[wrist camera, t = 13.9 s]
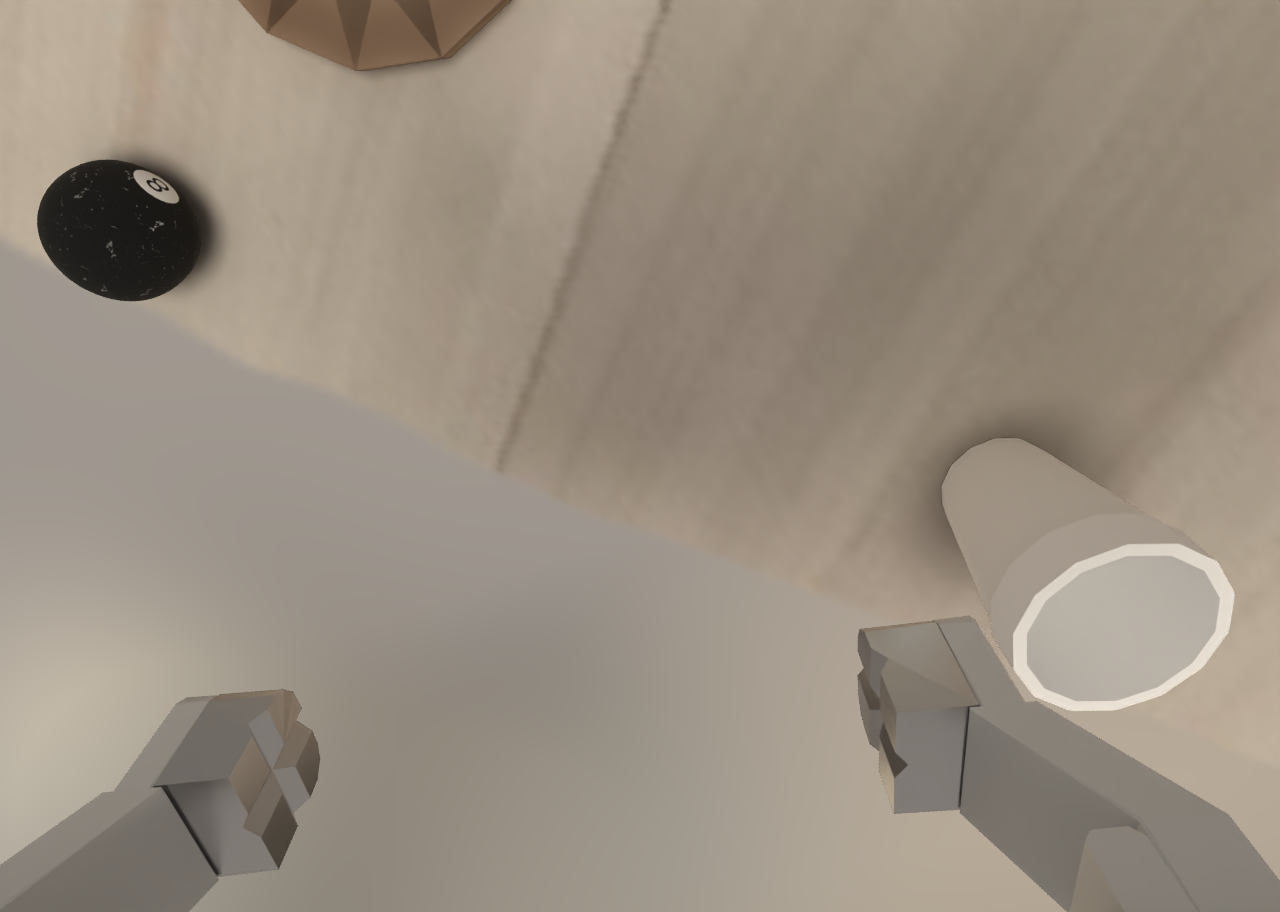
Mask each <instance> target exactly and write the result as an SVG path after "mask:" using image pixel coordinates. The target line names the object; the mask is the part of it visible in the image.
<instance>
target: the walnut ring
mask: <svg viewBox="0 0 1280 912" xmlns="http://www.w3.org/2000/svg"><path fill="white" fill-rule="evenodd" d="M510 1H511V0H239V2H240V3H241V4H242V5H243V6H244V7H245V8H246V10H247V11H248V12H249V13H250V14H251V15H252V16H253V18H254V19H255V20H256V21H257V22H258V23H259V24H260V26H261V27H262V28H263V29H264V30H265V31H266V33H269V34H271V35H273V36H276V37H278V38H280V39H283V40H285V41H287V42H290V43H292V44H294V45H297V46H299V47H301V48H304V49H306V50H308V51H311V52H313V53H315V54H318V55H320V56H322V57H325V58H327V59H329V60H332V61H334V62H336V63H339V64H341V65H343V66H346V67H348V68H350V69H353V70H355V71H364V70H372V69H379V68H385V67H392V66H398V65H405V64H412V63H418V62H425V61H431V60H438V59H444V58H451V57H452V56H453V55H454V54H455V53H456V52H457V51H458V50H459V49H460V48H461V47H462V46H463V45H465V44H466V43H467V42H468V41H469V40H470V39H471V38H472V37H473V36H474V35H475V34H476V33H477V32H478V31H479V30H480V29H481V28H482V27H484V26H485V25H486V24H487V23H488V22H489V21H490V20H491V19H492V18H493V17H494V16H495V15H496V14H497V13H498V12H499V11H500V10H501V9H503V8H504V7H505V6H506V5H507V4H508V3H509V2H510Z"/></svg>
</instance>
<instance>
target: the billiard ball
mask: <svg viewBox="0 0 1280 912" xmlns="http://www.w3.org/2000/svg"><path fill="white" fill-rule="evenodd" d="M37 226H38V233H39V237H40V240H41V243H42V245H43V248H44V249H45V251H46V253H47V255H48V256H49V258H50V259H51V261H52V262H53V263H54V265H55V266H56V267H57V268H58V269H59V270H60V271H61V272H62V273H63V274H64V275H65V276H66V277H68V278H69V279H70V280H71V281H73V282H74V283H76V284H77V285H79V286H80V287H82V288H84V289H86V290H88V291H90V292H93V293H95V294H97V295H100V296H103V297H106V298H110V299H114V300H120V301H142V300H147V299H151V298H155V297H158V296H160V295H162V294H165V293H166V292H168V291H170V290H172V289H173V288H174V287H176V286H177V285H178V284H179V283H181V282H182V281H183V280H184V279H185V278H186V277H187V275H188V274H189V273H190V271H191V270H192V268H193V267H194V265H195V263H196V260H197V258H198V255H199V251H200V245H201V235H200V228H199V224H198V221H197V218H196V216H195V214H194V212H193V210H192V208H191V206H190V205H189V203H188V202H187V201H186V199H185V198H184V197H183V196H182V195H181V194H180V192H179V191H178V190H177V189H176V188H175V187H173V186H172V185H171V184H170V183H169V182H167V181H166V180H165V179H163V178H162V177H160V176H158V175H157V174H155V173H153V172H151V171H149V170H147V169H145V168H143V167H140V166H138V165H135V164H131V163H128V162H123V161H117V160H96V161H90V162H87V163H84V164H80V165H78V166H76V167H74V168H72V169H70V170H68V171H67V172H65V173H64V174H62V175H61V176H60V177H58V178H57V179H56V180H55V181H54V182H53V183H52V184H51V185H50V187H49V188H48V189H47V191H46V193H45V194H44V196H43V198H42V200H41V203H40V206H39V210H38V216H37Z"/></svg>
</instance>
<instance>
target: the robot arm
mask: <svg viewBox="0 0 1280 912" xmlns="http://www.w3.org/2000/svg"><path fill="white" fill-rule="evenodd" d="M858 653H859V656H860V659H861V661H862V665H863V667H864V668H863V670H862V671H861V672H860V673H859V675H858V696H859V703H860V710H861V716H862V720H863V724H864V728H865V731H866V734H867V737H868V740H869V743H870V745H872V746H873V747H874V748H876V749H877V750H878V751H879V773H880V776H881V779H882V782H883V785H884V787H885V790H886V793H887V796H888V799H889V802H890V805H891V808H892V810H893V813H894V814H897V813H898V814H899V813H914V812H930V811H946V810H960V813H961V814H962V815H963V816H964V817H965V818H966V819H967V820H968V821H969V822H970V823H971V824H972V825H974V826H975V827H976V828H977V829H978V830H979V831H980V832H981V833H982V834H983V835H984V836H985V837H987V838H988V839H989V840H990V841H991V842H992V843H993V844H994V845H995V846H996V847H997V848H999V849H1000V850H1001V851H1002V852H1003V853H1004V854H1005V855H1006V856H1007V857H1008V858H1009V859H1010V860H1012V861H1013V862H1014V863H1015V864H1016V865H1017V866H1018V867H1019V868H1020V869H1021V870H1022V871H1023V872H1025V873H1026V874H1027V875H1028V876H1029V877H1030V878H1031V879H1032V880H1033V881H1034V882H1035V883H1036V884H1038V885H1039V886H1040V887H1041V888H1042V889H1043V890H1044V891H1045V892H1046V893H1047V894H1048V895H1049V896H1051V897H1052V898H1053V899H1054V900H1055V901H1056V902H1057V903H1058V904H1059V905H1060V906H1061V907H1062V908H1063V909H1065V910H1066V911H1067V912H1280V880H1279V879H1278V878H1277V876H1276V875H1275V874H1274V873H1273V871H1272V870H1271V869H1270V867H1269V866H1268V865H1267V864H1266V862H1265V861H1264V860H1263V858H1262V857H1261V856H1260V855H1259V853H1258V852H1257V851H1256V849H1255V848H1254V847H1253V846H1252V844H1251V843H1250V842H1249V840H1248V839H1247V838H1246V836H1245V835H1244V834H1243V832H1242V831H1241V830H1240V829H1239V827H1238V826H1237V825H1236V824H1235V822H1234V821H1233V820H1232V818H1231V817H1230V816H1229V815H1228V814H1227V813H1225V812H1223V811H1221V810H1220V809H1218V808H1216V807H1215V806H1213V805H1211V804H1210V803H1208V802H1206V801H1205V800H1203V799H1201V798H1200V797H1198V796H1196V795H1194V794H1193V793H1191V792H1189V791H1188V790H1186V789H1184V788H1182V787H1181V786H1179V785H1177V784H1176V783H1174V782H1172V781H1171V780H1169V779H1167V778H1166V777H1164V776H1162V775H1161V774H1159V773H1157V772H1155V771H1154V770H1152V769H1150V768H1149V767H1147V766H1145V765H1144V764H1142V763H1140V762H1139V761H1137V760H1135V759H1134V758H1132V757H1130V756H1129V755H1127V754H1125V753H1123V752H1122V751H1120V750H1118V749H1116V748H1115V747H1113V746H1111V745H1110V744H1108V743H1107V742H1105V741H1103V740H1102V739H1100V738H1098V737H1096V736H1095V735H1093V734H1091V733H1090V732H1088V731H1086V730H1085V729H1083V728H1081V727H1080V726H1078V725H1076V724H1074V723H1073V722H1071V721H1069V720H1068V719H1066V718H1064V717H1063V716H1061V715H1059V714H1058V713H1056V712H1054V711H1053V710H1051V709H1049V708H1047V707H1046V706H1044V705H1042V704H1040V703H1039V702H1037V701H1034V702H1025V701H1024V699H1023V697H1022V696H1021V694H1020V693H1019V691H1018V689H1017V688H1016V686H1015V684H1014V683H1013V681H1012V679H1011V678H1010V676H1009V674H1008V673H1007V671H1006V669H1005V668H1004V666H1003V665H1002V663H1001V661H1000V660H999V658H998V656H997V655H996V653H995V651H994V650H993V648H992V646H991V645H990V643H989V642H988V640H987V638H986V637H985V635H984V633H983V632H982V630H981V628H980V627H979V625H978V623H977V622H976V620H975V619H973V618H972V617H970V616H963V617H955V618H947V619H939V620H933V621H932V622H931V621H926V622H917V623H909V624H900V625H891V626H883V627H873V628H864V629H860V630H859V634H858ZM301 709H302V707H301V705H300V704H299V702H298V700H297V698H296V696H295V694H294V692H293V691H289V690H285V689H281V690H268V691H255V692H244V693H230V694H220V695H217V696H202V697H188V698H185V699H184V700H182V701H180V702H179V703H177V704H176V705H175V706H174V707H173V709H172V710H171V711H170V713H169V714H168V716H167V717H166V719H165V720H164V721H163V723H162V724H161V726H160V727H159V728H158V730H157V731H156V733H155V734H154V736H153V737H152V738H151V740H150V741H149V743H148V744H147V745H146V747H145V748H144V749H143V751H142V753H141V754H140V755H139V757H138V758H137V759H136V761H135V762H134V764H133V765H132V766H131V768H130V769H129V771H128V772H127V773H126V775H125V776H124V778H123V779H122V780H121V782H120V783H119V785H118V786H117V787H116V789H115V790H114V792H105V793H102V794H100V795H99V796H98V797H96V798H95V799H93V800H92V801H90V802H89V803H87V804H86V805H85V806H83V807H82V808H80V809H79V810H77V811H76V812H75V813H73V814H72V815H70V816H69V817H68V818H66V819H65V820H63V821H62V822H60V823H59V824H58V825H56V826H55V827H53V828H52V829H51V830H49V831H48V832H46V833H45V834H44V835H42V836H41V837H39V838H38V839H36V840H35V841H34V842H32V843H31V844H29V845H28V846H26V847H25V848H24V849H22V850H21V851H19V852H18V853H16V854H15V855H14V856H12V857H11V858H9V859H8V860H7V861H5V862H4V863H2V864H1V865H0V912H189V911H190V910H191V909H192V908H193V907H194V906H195V905H196V903H198V901H199V900H200V899H201V898H202V897H203V896H204V895H205V894H206V893H207V892H208V891H209V890H210V889H211V888H212V887H213V886H214V885H215V884H216V883H217V881H218V877H221V876H230V875H238V874H246V873H255V872H263V871H271V870H278V869H279V868H280V865H281V863H282V861H283V859H284V856H285V854H286V852H287V850H288V847H289V845H290V843H291V840H292V838H293V836H294V834H295V831H296V829H297V827H298V825H297V822H296V819H295V816H294V812H295V811H296V810H297V809H298V808H299V807H300V806H302V805H303V804H304V803H305V802H306V801H307V800H308V799H309V798H310V797H311V795H312V792H313V789H314V787H315V785H316V782H317V780H318V772H319V764H320V755H319V748H318V743H317V741H316V738H315V736H314V733H313V731H312V730H311V729H309V728H308V727H306V726H305V725H303V724H302V723H300V722H299V721H297V718H298V716H299V714H300V712H301Z"/></svg>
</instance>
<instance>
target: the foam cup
mask: <svg viewBox="0 0 1280 912" xmlns="http://www.w3.org/2000/svg"><path fill="white" fill-rule="evenodd" d="M941 487H942V504H943V508H944V509H945V514H946V516H947V519H948V521H949V523H950V526H951V528H952V530H953V533H954V535H955V538H956V540H957V542H958V545H959V547H960V550H961V552H962V554H963V557H964V559H965V561H966V564H967V566H968V569H969V571H970V573H971V576H972V578H973V580H974V583H975V585H976V588H977V590H978V592H979V595H980V597H981V599H982V602H983V604H984V607H985V609H986V611H987V614H988V616H989V619H990V621H991V630H992V636H993V638H994V639H995V641H996V643H997V644H998V646H999V647H1000V649H1001V651H1002V652H1003V654H1004V655H1005V657H1006V658H1007V660H1008V662H1009V663H1010V665H1011V666H1012V668H1013V670H1014V671H1015V672H1016V673H1017V675H1018V676H1019V677H1020V679H1021V680H1022V681H1023V683H1024V684H1025V685H1026V687H1027V688H1028V689H1029V691H1030V692H1031V693H1032V694H1033V696H1034V697H1036V698H1039V699H1042V700H1044V701H1046V702H1049V703H1052V704H1054V705H1057V706H1059V707H1062V708H1064V709H1067V710H1070V711H1090V710H1091V711H1095V710H1097V711H1101V710H1118V709H1121V708H1124V707H1127V706H1130V705H1133V704H1137V703H1140V702H1143V701H1146V700H1149V699H1152V698H1155V697H1158V696H1161V695H1163V694H1165V693H1166V692H1168V691H1169V690H1171V689H1172V688H1173V687H1175V686H1176V685H1178V684H1179V683H1181V682H1182V681H1184V680H1185V679H1187V678H1188V677H1189V676H1191V675H1192V674H1194V673H1195V672H1197V671H1198V670H1200V669H1201V668H1203V666H1204V665H1205V664H1206V662H1207V661H1208V659H1209V658H1210V657H1211V655H1212V654H1213V653H1214V651H1215V650H1216V649H1217V647H1218V646H1219V644H1220V643H1221V642H1222V640H1223V639H1224V638H1225V636H1226V635H1227V633H1228V632H1229V629H1230V622H1231V616H1232V609H1233V603H1234V596H1235V593H1234V591H1233V589H1232V587H1231V585H1230V583H1229V582H1228V580H1227V578H1226V576H1225V574H1224V573H1223V571H1222V569H1221V567H1220V565H1219V564H1218V562H1217V561H1216V560H1215V559H1214V558H1213V557H1211V556H1210V555H1209V554H1208V553H1207V552H1206V551H1204V550H1203V549H1202V548H1201V547H1200V546H1199V545H1197V544H1196V543H1195V542H1194V541H1193V540H1192V539H1190V538H1189V537H1188V536H1187V535H1186V534H1185V533H1183V532H1182V531H1181V530H1179V529H1176V528H1174V527H1172V526H1170V525H1168V524H1166V523H1164V522H1162V521H1160V520H1157V519H1155V518H1153V517H1151V516H1149V515H1147V514H1145V513H1143V512H1142V511H1140V510H1139V509H1137V508H1135V507H1134V506H1132V505H1131V504H1129V503H1127V502H1126V501H1124V500H1123V499H1121V498H1119V497H1118V496H1116V495H1115V494H1113V493H1111V492H1110V491H1108V490H1107V489H1105V488H1103V487H1102V486H1100V485H1099V484H1097V483H1095V482H1094V481H1092V480H1090V479H1089V478H1087V477H1086V476H1084V475H1082V474H1081V473H1079V472H1078V471H1076V470H1074V469H1073V468H1071V467H1070V466H1068V465H1066V464H1065V463H1063V462H1062V461H1060V460H1058V459H1057V458H1055V457H1054V456H1052V455H1050V454H1049V453H1047V452H1046V451H1043V450H1041V449H1040V448H1039V447H1036V446H1034V445H1032V444H1030V443H1028V442H1026V441H1024V440H1022V439H1020V438H994V439H992V440H989V441H987V442H984V443H982V444H979V445H977V446H974V447H972V448H970V449H969V450H967V451H966V452H965V453H964V454H963V455H962V456H961V457H960V458H959V459H958V460H956V461H955V462H954V463H953V464H952V465H951V467H950V469H949V471H948V473H947V475H946V478H945V480H944V482H943V484H942V486H941Z"/></svg>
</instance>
